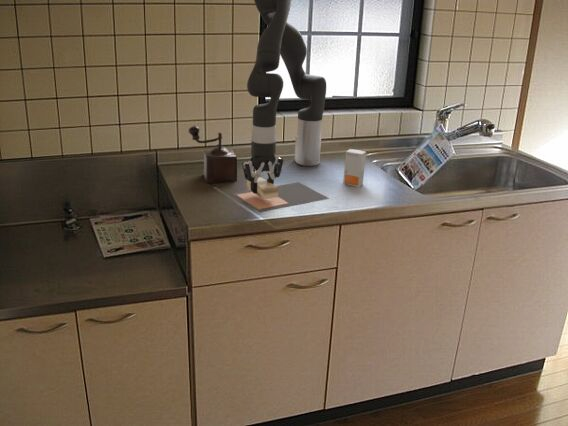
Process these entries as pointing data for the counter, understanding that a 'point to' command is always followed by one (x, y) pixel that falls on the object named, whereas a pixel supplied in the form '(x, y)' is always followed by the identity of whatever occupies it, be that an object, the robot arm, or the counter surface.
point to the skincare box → (354, 167)
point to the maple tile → (264, 188)
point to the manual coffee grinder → (217, 160)
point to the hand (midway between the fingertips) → (262, 191)
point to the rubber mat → (282, 197)
